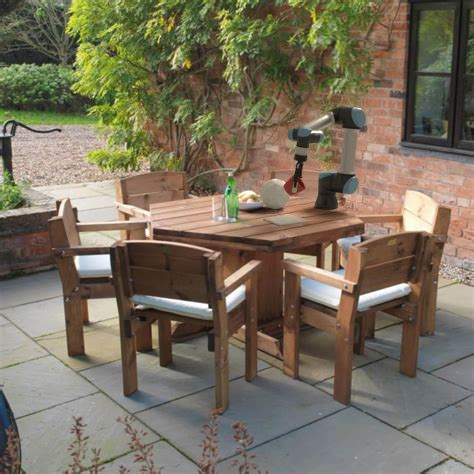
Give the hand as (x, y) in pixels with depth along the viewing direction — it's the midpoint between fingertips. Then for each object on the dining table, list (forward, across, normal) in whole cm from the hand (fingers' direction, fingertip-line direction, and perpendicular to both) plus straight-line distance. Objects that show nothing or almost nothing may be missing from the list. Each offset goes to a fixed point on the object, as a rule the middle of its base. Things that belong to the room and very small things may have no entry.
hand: (295, 190), depth 431 cm
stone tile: (+19, +2, -3) cm, 19 cm away
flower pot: (+1, 0, -5) cm, 5 cm away
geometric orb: (+21, -30, -15) cm, 40 cm away
